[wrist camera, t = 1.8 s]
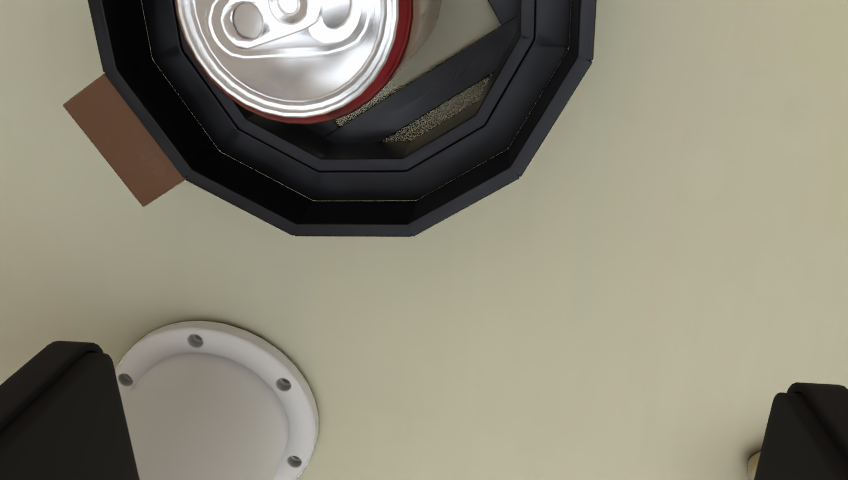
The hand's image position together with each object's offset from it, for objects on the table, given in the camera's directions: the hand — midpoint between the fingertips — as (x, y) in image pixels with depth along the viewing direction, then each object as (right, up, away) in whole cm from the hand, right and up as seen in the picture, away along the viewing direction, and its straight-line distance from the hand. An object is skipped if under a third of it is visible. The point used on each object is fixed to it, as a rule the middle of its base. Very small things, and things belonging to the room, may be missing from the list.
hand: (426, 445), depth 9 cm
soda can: (-3, +14, +21) cm, 25 cm away
